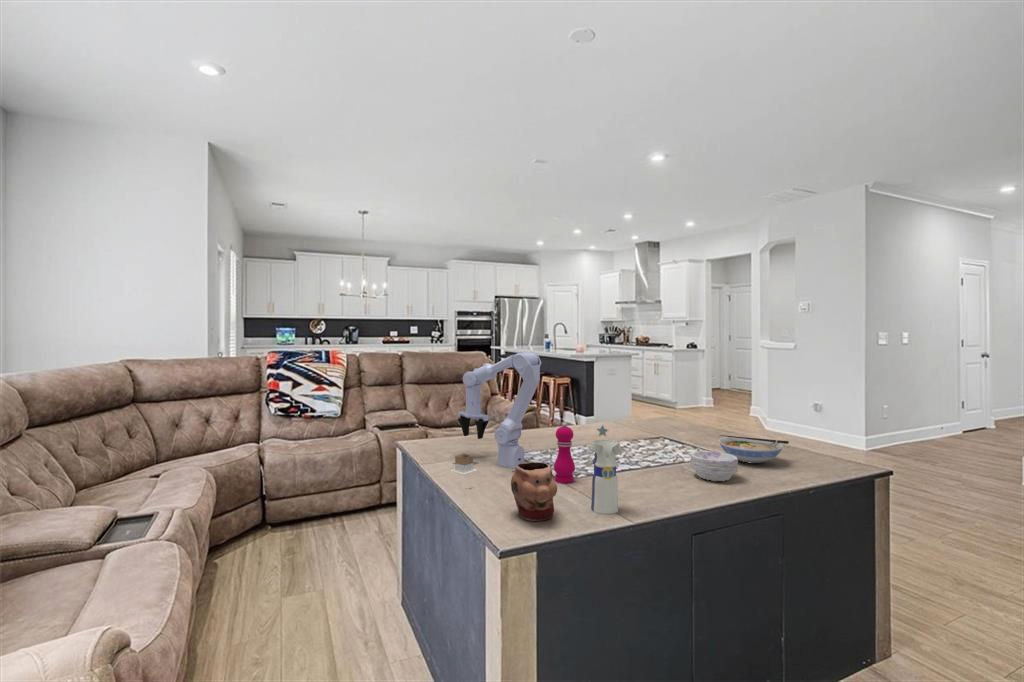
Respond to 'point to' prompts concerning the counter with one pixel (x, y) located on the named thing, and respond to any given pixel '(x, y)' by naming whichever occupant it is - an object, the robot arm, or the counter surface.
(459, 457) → the block
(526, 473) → the decorative planter
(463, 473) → the stand
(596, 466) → the white figurine with star
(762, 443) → the ramen bowl
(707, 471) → the paper bowls
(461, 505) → the counter surface
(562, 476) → the pepper mill
